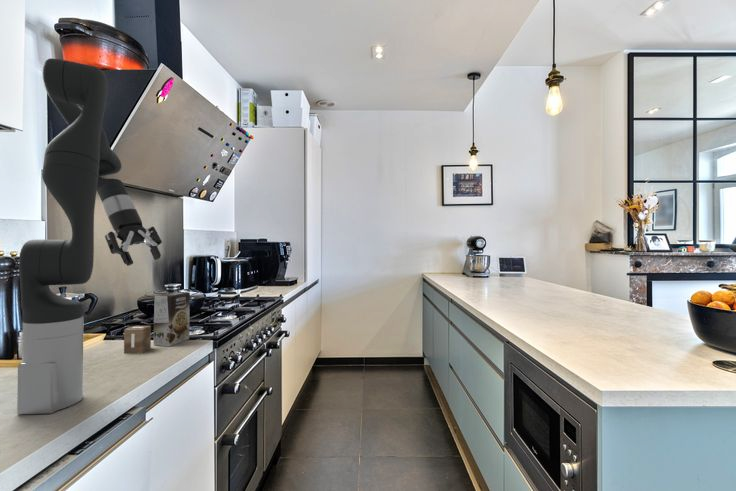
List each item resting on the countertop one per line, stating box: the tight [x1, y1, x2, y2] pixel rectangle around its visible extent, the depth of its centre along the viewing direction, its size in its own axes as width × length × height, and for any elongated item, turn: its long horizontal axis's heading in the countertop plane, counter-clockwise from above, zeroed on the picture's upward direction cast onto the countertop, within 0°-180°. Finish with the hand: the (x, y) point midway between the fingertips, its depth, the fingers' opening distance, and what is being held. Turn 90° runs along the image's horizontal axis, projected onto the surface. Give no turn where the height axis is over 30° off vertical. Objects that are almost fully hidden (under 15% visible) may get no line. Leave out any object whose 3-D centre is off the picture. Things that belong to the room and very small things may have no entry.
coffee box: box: [152, 291, 191, 347], centre depth 116 cm, size 9×6×16 cm
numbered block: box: [123, 325, 152, 354], centre depth 107 cm, size 5×5×7 cm
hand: (144, 261), depth 106 cm, fingers open, 8 cm apart
